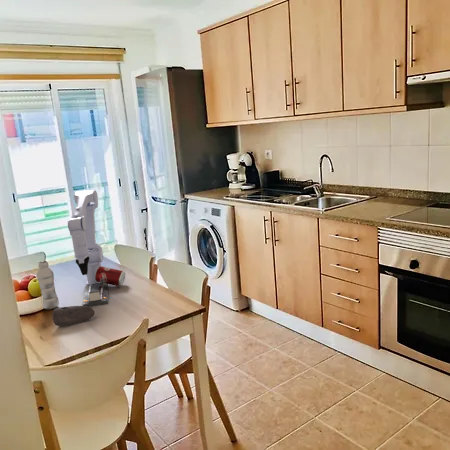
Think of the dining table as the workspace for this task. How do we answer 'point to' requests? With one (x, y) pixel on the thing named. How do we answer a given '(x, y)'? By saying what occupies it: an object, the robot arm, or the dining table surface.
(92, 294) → the slider tab
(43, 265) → the plastic bottle
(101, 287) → the fader panel
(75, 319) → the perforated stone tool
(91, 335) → the dining table surface
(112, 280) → the soda can
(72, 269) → the dining table surface
